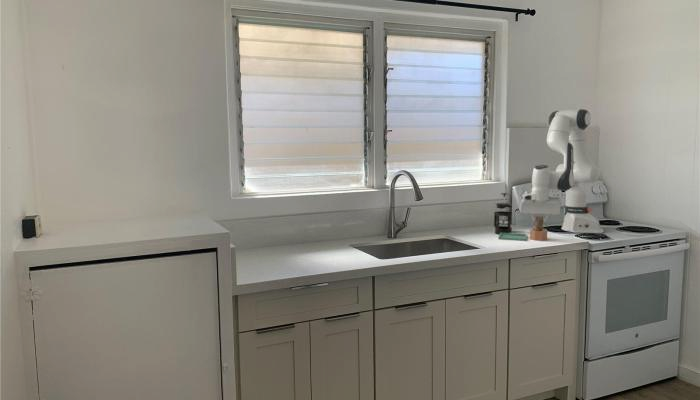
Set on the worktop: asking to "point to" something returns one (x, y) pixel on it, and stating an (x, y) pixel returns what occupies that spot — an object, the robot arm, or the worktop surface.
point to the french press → (503, 213)
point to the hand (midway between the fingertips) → (539, 222)
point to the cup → (538, 235)
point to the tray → (512, 236)
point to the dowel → (539, 224)
